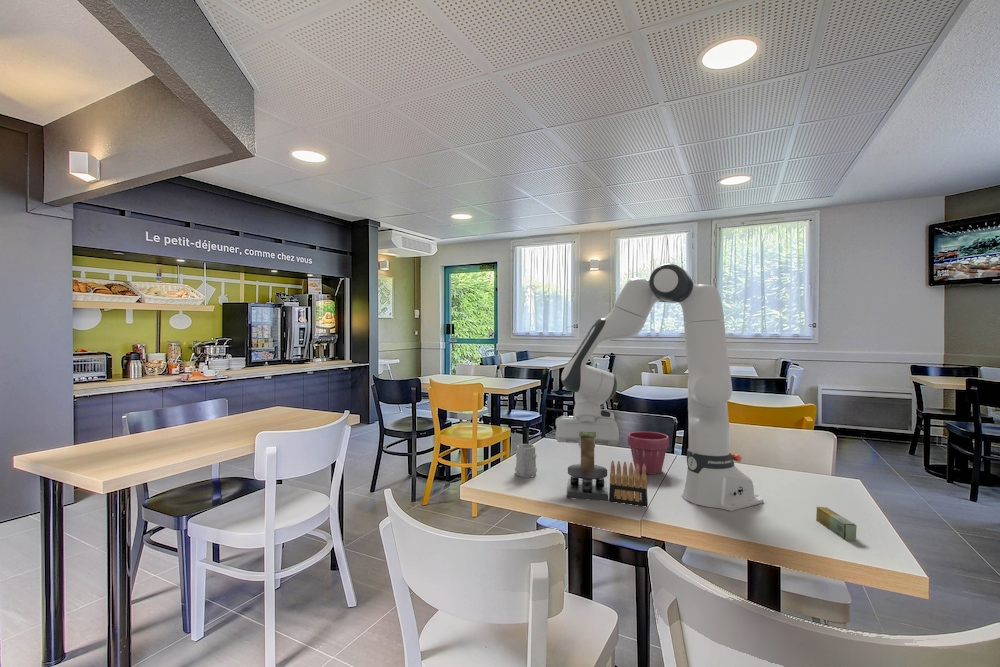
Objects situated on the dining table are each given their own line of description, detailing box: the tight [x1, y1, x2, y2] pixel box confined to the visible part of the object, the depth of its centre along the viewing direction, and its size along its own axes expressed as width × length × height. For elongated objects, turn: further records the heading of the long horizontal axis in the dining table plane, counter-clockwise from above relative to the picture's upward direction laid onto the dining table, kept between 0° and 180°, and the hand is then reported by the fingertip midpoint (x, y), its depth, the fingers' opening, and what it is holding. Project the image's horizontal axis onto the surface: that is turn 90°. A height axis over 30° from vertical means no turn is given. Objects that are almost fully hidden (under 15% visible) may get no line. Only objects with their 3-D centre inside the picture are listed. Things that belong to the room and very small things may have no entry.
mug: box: [514, 443, 538, 478], centre depth 156 cm, size 8×12×12 cm, turn 163°
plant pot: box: [627, 431, 670, 475], centre depth 164 cm, size 14×14×13 cm
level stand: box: [566, 475, 609, 502], centre depth 140 cm, size 12×12×5 cm
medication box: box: [815, 506, 857, 542], centre depth 114 cm, size 12×3×4 cm, turn 174°
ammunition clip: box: [608, 460, 649, 508], centre depth 131 cm, size 11×2×12 cm, turn 68°
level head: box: [567, 431, 608, 481], centre depth 140 cm, size 12×12×13 cm
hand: (586, 454), depth 143 cm, fingers closed, pressing on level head
